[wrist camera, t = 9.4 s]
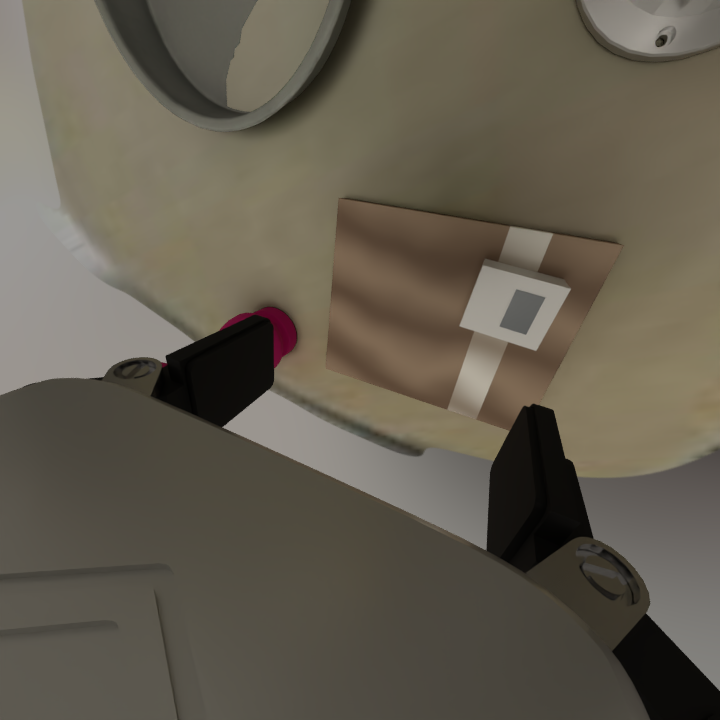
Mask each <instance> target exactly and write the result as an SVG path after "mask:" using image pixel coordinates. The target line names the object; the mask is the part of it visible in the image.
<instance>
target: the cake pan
mask: <svg viewBox="0 0 720 720" xmlns="http://www.w3.org/2000/svg"><path fill="white" fill-rule="evenodd" d="M94 1H95V3H96V6H97V8H98V10H99V12H100V15H101V17H102V19H103V21H104V23H105V25H106V27H107V29H108V31H109V33H110V35H111V37H112V39H113V41H114V43H115V44H116V46H117V48H118V50H119V51H120V53H121V55H122V56H123V58H124V60H125V61H126V63H127V64H128V66H129V67H130V68H131V70H132V71H133V73H134V74H135V75H136V77H137V78H138V79H139V81H140V82H141V83H142V84H143V85H144V86H145V88H146V89H147V90H148V91H149V92H150V93H151V94H152V95H153V96H154V97H155V98H156V99H157V100H158V101H159V102H160V103H161V104H162V105H163V106H164V107H165V108H167V109H168V110H169V111H171V112H172V113H173V114H175V115H176V116H178V117H180V118H181V119H183V120H185V121H187V122H189V123H191V124H193V125H195V126H197V127H200V128H203V129H208V130H212V131H219V132H223V131H224V132H230V131H238V130H242V129H246V128H248V127H252V126H254V125H257V124H259V123H261V122H262V121H264V120H266V119H267V118H269V117H270V116H272V115H274V114H275V113H276V112H277V111H278V110H280V109H281V108H282V107H283V106H285V105H286V104H288V103H290V102H291V101H292V100H294V99H295V98H296V97H297V96H299V95H300V94H301V93H302V92H303V91H304V90H305V89H306V88H307V87H308V85H309V84H310V83H311V82H312V81H313V79H314V78H315V77H316V76H317V74H318V73H319V72H320V70H321V69H322V67H323V65H324V64H325V62H326V60H327V59H328V57H329V55H330V53H331V51H332V49H333V47H334V45H335V43H336V41H337V39H338V37H339V34H340V32H341V29H342V27H343V24H344V22H345V19H346V16H347V13H348V10H349V6H350V3H351V0H330V1H329V4H328V7H327V9H326V12H325V15H324V18H323V20H322V23H321V25H320V28H319V30H318V32H317V34H316V37H315V39H314V41H313V43H312V45H311V47H310V49H309V51H308V53H307V54H306V56H305V58H304V60H303V61H302V63H301V64H300V66H299V67H298V69H297V70H296V72H295V73H294V75H293V76H292V78H291V79H290V80H289V81H288V83H287V84H286V85H285V86H284V87H283V88H282V89H281V90H280V91H279V92H278V93H277V95H275V96H274V97H273V98H272V99H271V100H270V101H268V102H267V103H266V104H264V105H263V106H261V107H260V108H258V109H256V110H254V111H252V112H244V111H239V110H235V109H232V108H229V107H227V96H226V78H227V74H228V69H229V65H230V61H231V60H232V58H233V57H234V50H235V48H236V47H237V46H238V44H239V43H240V38H241V31H242V27H243V26H244V24H245V22H246V20H247V18H248V16H249V14H250V13H251V11H252V9H253V7H254V6H255V4H256V2H257V0H94Z"/></svg>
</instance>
